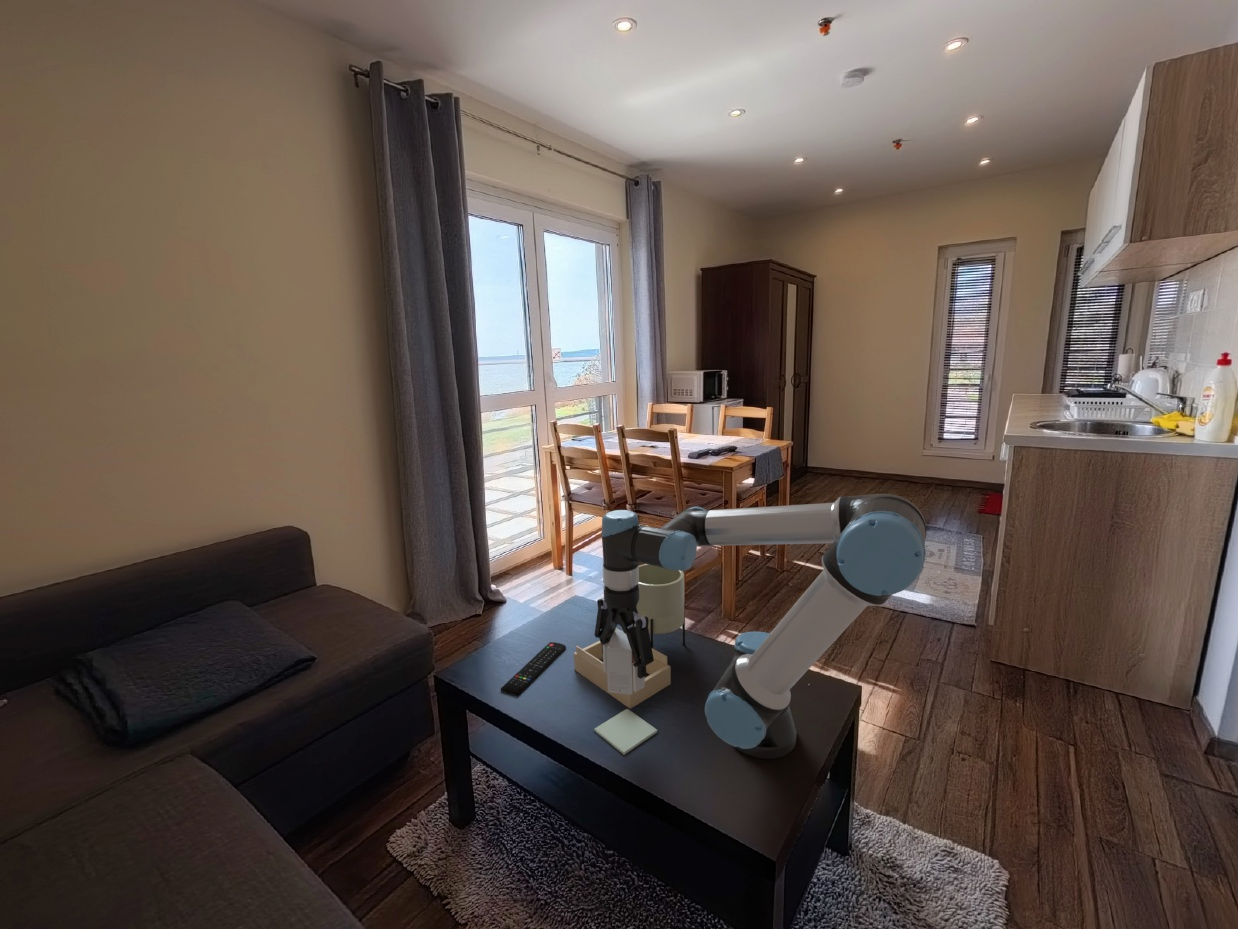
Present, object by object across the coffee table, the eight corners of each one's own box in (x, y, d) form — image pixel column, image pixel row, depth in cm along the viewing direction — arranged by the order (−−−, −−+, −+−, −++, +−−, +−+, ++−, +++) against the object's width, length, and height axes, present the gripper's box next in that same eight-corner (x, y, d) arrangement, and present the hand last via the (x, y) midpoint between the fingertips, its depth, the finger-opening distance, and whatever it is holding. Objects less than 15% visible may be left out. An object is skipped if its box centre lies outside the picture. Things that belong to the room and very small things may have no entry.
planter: (652, 629, 165) (651, 558, 160) (695, 648, 155) (695, 572, 150) (617, 649, 155) (615, 574, 150) (660, 671, 144) (659, 591, 139)
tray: (670, 684, 139) (670, 657, 137) (630, 709, 130) (629, 681, 128) (614, 649, 155) (613, 626, 153) (574, 669, 146) (573, 644, 144)
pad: (657, 732, 122) (657, 729, 122) (624, 755, 115) (623, 752, 115) (627, 710, 129) (627, 708, 129) (594, 731, 123) (594, 728, 123)
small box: (632, 695, 115) (632, 651, 113) (607, 693, 116) (605, 648, 114) (639, 673, 123) (638, 631, 120) (614, 671, 124) (613, 629, 122)
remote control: (501, 693, 138) (500, 688, 138) (551, 645, 159) (551, 641, 159) (518, 698, 136) (517, 693, 135) (567, 649, 157) (566, 645, 157)
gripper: (671, 594, 109) (671, 694, 114) (601, 563, 125) (604, 652, 130) (644, 607, 104) (646, 710, 109) (575, 573, 120) (579, 664, 125)
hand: (623, 678), depth 119 cm, fingers closed on small box, 9 cm apart
